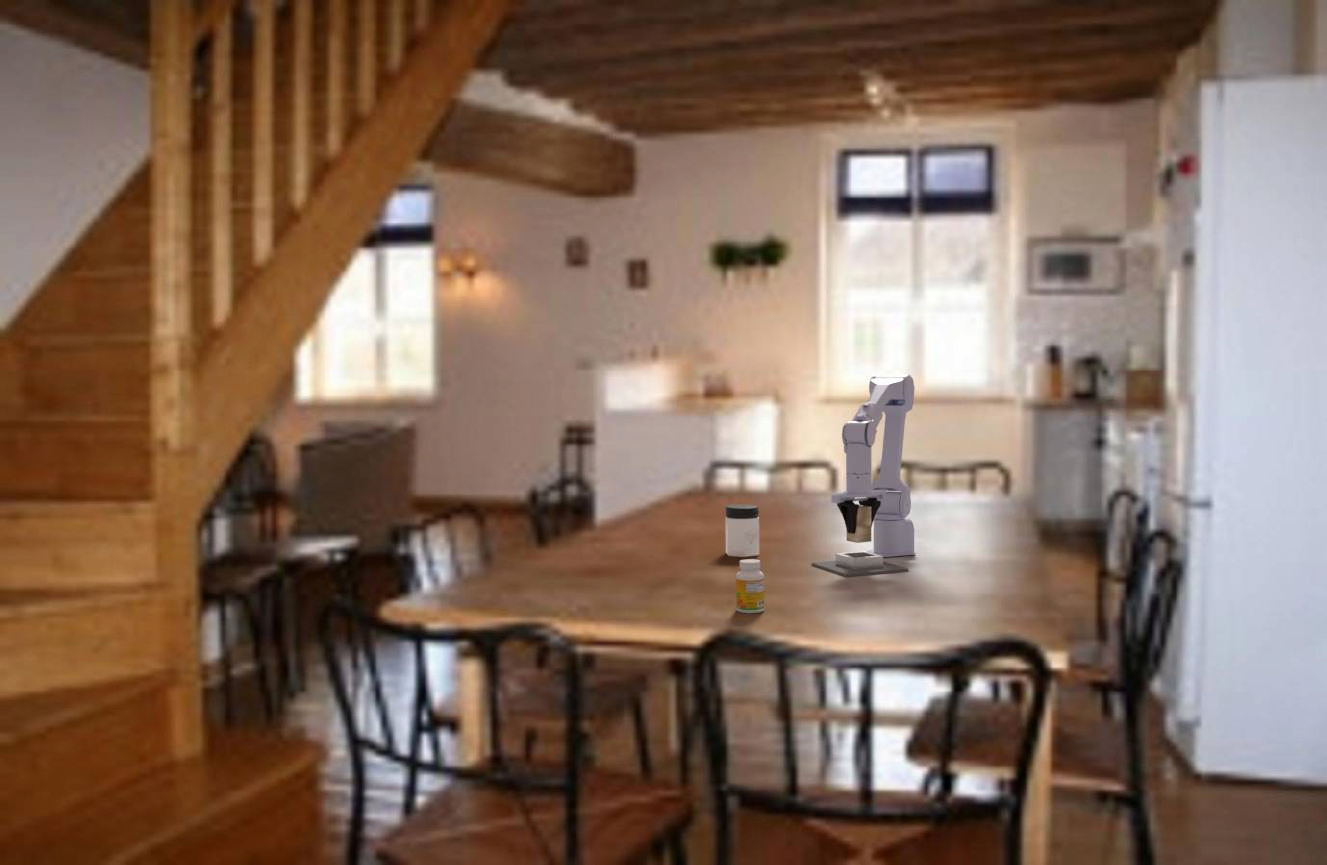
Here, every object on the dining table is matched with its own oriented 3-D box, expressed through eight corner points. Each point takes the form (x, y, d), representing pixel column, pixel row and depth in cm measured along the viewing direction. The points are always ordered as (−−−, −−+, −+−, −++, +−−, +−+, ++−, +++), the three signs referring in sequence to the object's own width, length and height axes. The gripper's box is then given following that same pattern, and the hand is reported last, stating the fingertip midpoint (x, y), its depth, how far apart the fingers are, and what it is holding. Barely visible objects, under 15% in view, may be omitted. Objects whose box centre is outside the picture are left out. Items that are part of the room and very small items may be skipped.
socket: (865, 561, 273) (865, 550, 273) (882, 566, 266) (882, 556, 266) (835, 564, 270) (835, 553, 270) (853, 569, 263) (853, 558, 263)
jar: (738, 558, 283) (737, 509, 283) (718, 553, 290) (717, 506, 289) (766, 554, 288) (766, 506, 287) (746, 550, 295) (746, 503, 294)
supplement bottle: (734, 608, 227) (734, 558, 227) (761, 607, 228) (761, 557, 227) (738, 614, 222) (738, 563, 221) (766, 613, 222) (766, 562, 222)
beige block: (860, 539, 270) (859, 504, 270) (871, 541, 267) (871, 506, 266) (846, 540, 268) (846, 506, 268) (857, 542, 265) (857, 507, 264)
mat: (871, 560, 278) (870, 557, 278) (908, 571, 263) (908, 568, 263) (811, 565, 273) (811, 562, 272) (846, 576, 258) (846, 574, 258)
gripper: (871, 470, 274) (871, 527, 275) (822, 473, 266) (823, 532, 267) (892, 472, 268) (892, 531, 268) (842, 476, 260) (842, 536, 261)
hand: (859, 532), depth 267 cm, fingers closed on beige block, 4 cm apart
